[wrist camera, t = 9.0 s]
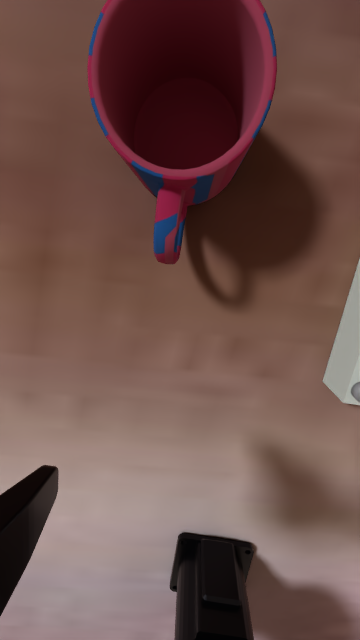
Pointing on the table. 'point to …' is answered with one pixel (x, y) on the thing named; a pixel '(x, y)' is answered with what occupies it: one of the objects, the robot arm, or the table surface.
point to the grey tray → (347, 350)
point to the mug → (181, 96)
